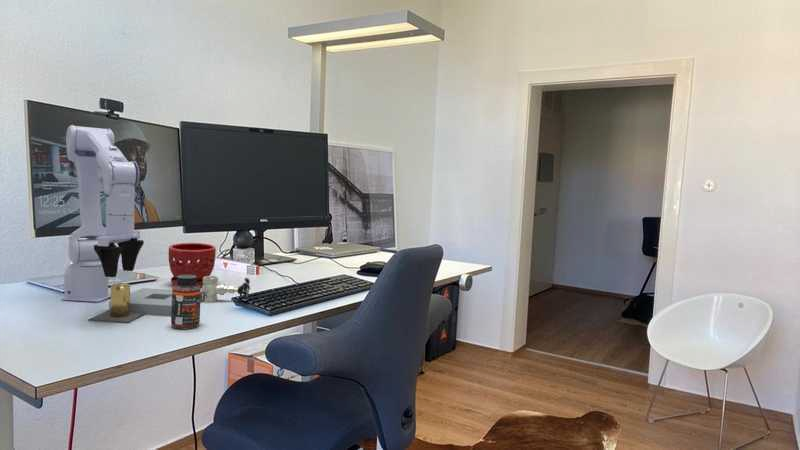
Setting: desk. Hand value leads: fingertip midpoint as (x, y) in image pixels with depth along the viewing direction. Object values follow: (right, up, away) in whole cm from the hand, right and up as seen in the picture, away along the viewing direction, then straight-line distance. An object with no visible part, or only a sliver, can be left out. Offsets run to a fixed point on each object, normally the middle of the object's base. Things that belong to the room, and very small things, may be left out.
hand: (119, 273), depth 121 cm
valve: (+17, -10, +21) cm, 29 cm away
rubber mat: (-1, -10, +1) cm, 10 cm away
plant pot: (+2, -7, +38) cm, 38 cm away
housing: (+3, -9, +12) cm, 15 cm away
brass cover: (0, -10, +1) cm, 10 cm away
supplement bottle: (+16, -12, -3) cm, 20 cm away
